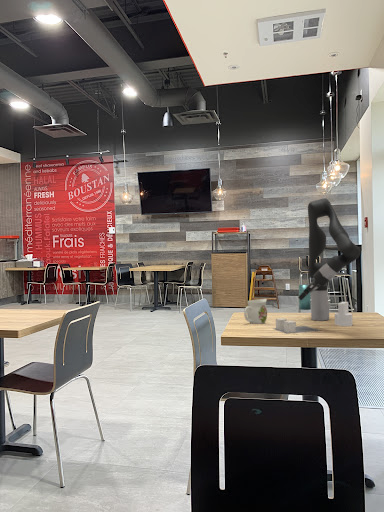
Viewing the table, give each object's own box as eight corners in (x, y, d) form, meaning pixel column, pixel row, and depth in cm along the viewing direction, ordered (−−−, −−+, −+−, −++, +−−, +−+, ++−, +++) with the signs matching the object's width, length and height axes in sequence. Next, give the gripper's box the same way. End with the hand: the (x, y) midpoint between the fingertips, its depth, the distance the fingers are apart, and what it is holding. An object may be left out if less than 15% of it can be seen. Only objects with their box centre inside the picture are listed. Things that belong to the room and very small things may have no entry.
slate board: (304, 328, 220) (304, 325, 220) (321, 333, 207) (321, 330, 207) (272, 331, 214) (272, 328, 214) (286, 336, 201) (286, 333, 201)
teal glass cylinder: (306, 308, 216) (306, 284, 215) (313, 309, 210) (312, 285, 210) (297, 308, 214) (296, 284, 214) (303, 310, 209) (302, 285, 208)
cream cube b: (282, 328, 215) (282, 318, 215) (287, 329, 211) (286, 319, 211) (275, 328, 214) (275, 318, 214) (279, 330, 210) (279, 319, 210)
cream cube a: (291, 330, 208) (291, 320, 208) (295, 332, 204) (295, 321, 204) (284, 331, 206) (283, 321, 206) (288, 332, 203) (288, 322, 202)
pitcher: (237, 326, 231) (237, 301, 231) (259, 322, 243) (258, 298, 242) (252, 328, 223) (252, 302, 222) (274, 324, 234) (274, 299, 234)
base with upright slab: (337, 322, 236) (337, 301, 236) (354, 324, 231) (354, 302, 231) (332, 325, 229) (332, 303, 229) (349, 326, 224) (349, 304, 224)
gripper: (322, 268, 215) (298, 291, 220) (316, 269, 202) (292, 294, 208) (333, 279, 213) (309, 301, 218) (328, 281, 200) (303, 305, 205)
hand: (301, 298), depth 213 cm, fingers closed on teal glass cylinder, 5 cm apart
